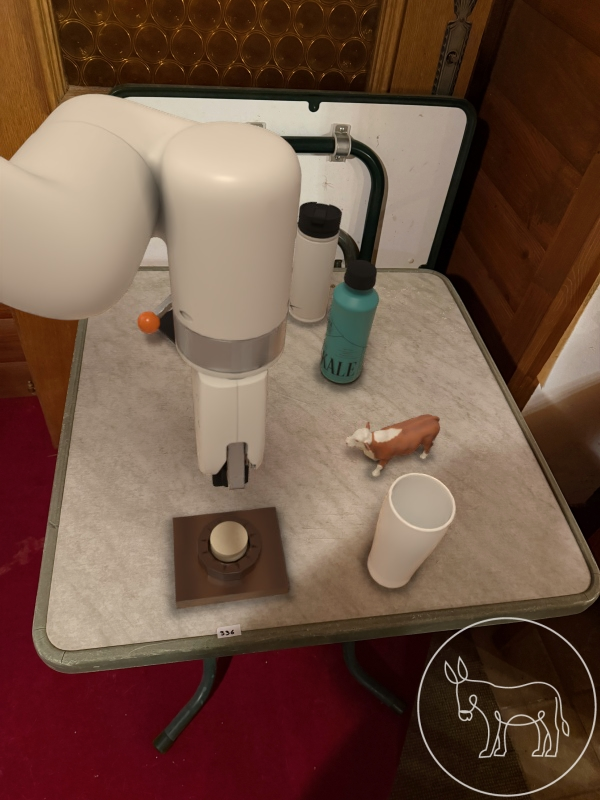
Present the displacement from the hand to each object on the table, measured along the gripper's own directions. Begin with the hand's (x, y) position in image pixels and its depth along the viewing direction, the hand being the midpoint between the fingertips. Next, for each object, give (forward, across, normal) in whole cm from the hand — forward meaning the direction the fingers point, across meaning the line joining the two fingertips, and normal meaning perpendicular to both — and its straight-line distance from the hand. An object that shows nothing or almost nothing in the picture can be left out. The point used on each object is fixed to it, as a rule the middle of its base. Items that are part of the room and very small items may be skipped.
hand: (229, 476), depth 51 cm
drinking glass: (+17, +4, +18) cm, 25 cm away
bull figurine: (+17, -11, +22) cm, 30 cm away
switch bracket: (+17, -40, -1) cm, 44 cm away
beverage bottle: (+17, -28, +19) cm, 38 cm away
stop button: (+14, 0, 0) cm, 14 cm away
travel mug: (+17, -42, +17) cm, 48 cm away
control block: (+17, 0, 0) cm, 17 cm away
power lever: (+11, -38, -4) cm, 40 cm away
